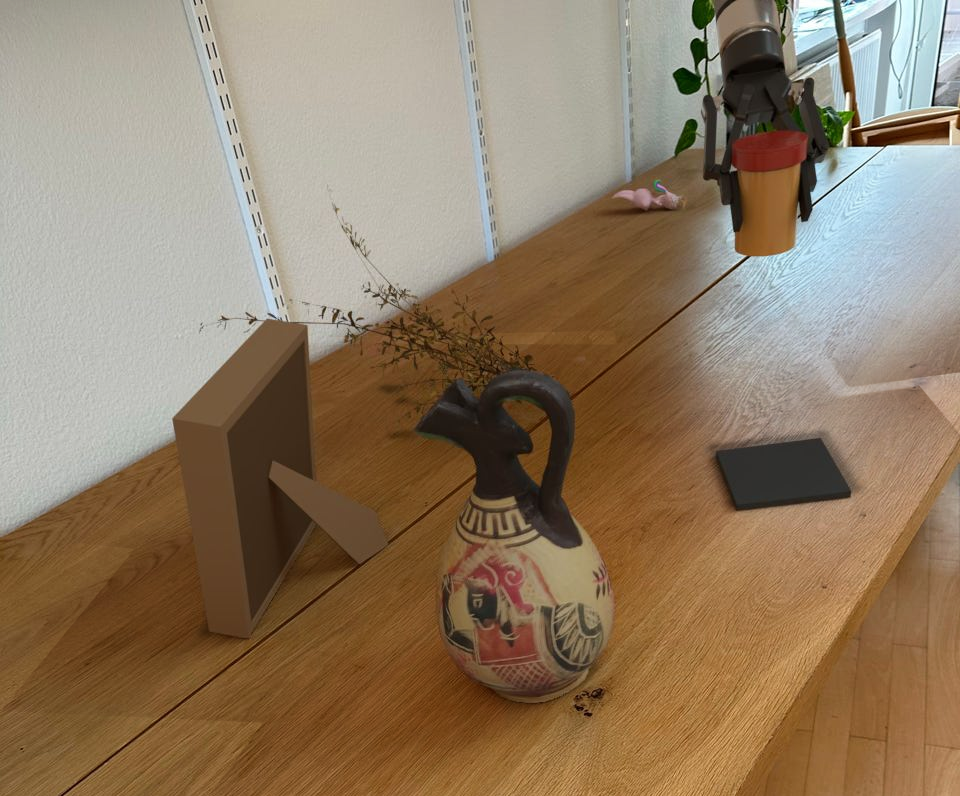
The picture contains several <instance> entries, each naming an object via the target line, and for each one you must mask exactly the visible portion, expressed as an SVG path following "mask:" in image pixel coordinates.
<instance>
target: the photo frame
mask: <svg viewBox="0 0 960 796" xmlns="http://www.w3.org/2000/svg"><path fill="white" fill-rule="evenodd" d="M292 322H293V321H285V320H281V319H280V320H277V319H276V320H275V319H274V318H266V319H265V321H262V323H261V324H260V325H259V326H258V327H257V328H256V329H255V330H254V331H253V332H252V334H250V336H248V338H247V339H246V340H245V341H244V342H243V343H242V344H240V346H239V347H238V348H237V350H235V351H234V352H233V354H232V355H231V356H230V357H229V358H228V359H227V360H226V361H225V362H224V363H223V364H222V365H221V366H220V368H218V369H217V370H216V372H215V373H213V375H212V376H211V377H210V378H209V379H208V380H207V381H206V382H205V383H204V384H203V385H202V386H201V387H200V389H198V391H197V392H196V393H194V394H193V395H192V396H191V398H190V399H189V400H188V401H187V402H186V403H185V404H184V405H183V406H182V407H181V408H180V409H179V411H177V413H176V414H174V415H173V417H172V419H171V420H172V425H173V432H174V438H175V443H176V449H177V455H178V460H179V467H180V471H181V472H180V473H181V477H182V483H183V488H184V495H185V500H186V506H187V512H188V518H189V523H190V529H191V534H192V541H193V547H194V552H195V558H196V563H197V569H198V574H199V581H200V587H201V591H202V597H203V603H204V609H205V615H206V620H207V627H208V632H211V633H215V634H216V633H217V634H220V635H225V636H230V637H235V638H241V639H245V638H249V637H250V635H251V633H252V632H253V630H254V628H255V627H256V625H257V623H258V622H259V620H260V618H261V617H262V615H263V613H264V612H265V610H266V608H267V607H268V608H269V606H270V605H269V603H270V602H271V603H272V601H273V600H272V598H273V597H274V598H275V596H276V595H275V593H276V592H277V593H278V591H279V590H278V588H279V587H280V588H281V586H282V585H281V584H283V583H284V581H285V579H286V578H287V576H288V574H289V573H290V571H291V569H292V568H293V566H294V564H295V563H296V561H297V559H298V558H297V557H299V556H300V555H301V553H302V551H303V549H304V547H305V546H306V544H307V542H308V541H309V539H310V537H311V536H310V535H312V534H313V532H314V531H313V529H314V528H315V529H316V527H317V526H318V527H319V529H321V530H322V531H323V532H324V533H325V534H326V535H327V536H328V537H329V538H330V540H332V541H333V542H334V543H335V544H336V545H337V546H339V548H341V550H343V551H344V552H345V554H347V555H348V556H349V557H350V559H352V560H353V561H354V562H355V563H356V564H357V563H358V564H357V565H361V564H362V563H364V562H365V561H367V560H369V559H370V558H371V557H373V556H374V555H376V554H377V553H379V552H380V551H382V550H383V549H384V548H386V547H387V546H388V545H389V542H388V540H387V537H386V534H385V531H384V530H383V526H382V524H381V522H380V519H379V516H378V513H377V511H376V510H374V509H372V508H370V507H368V506H366V505H364V504H362V503H360V502H359V501H356V500H354V499H351V498H350V497H347V496H345V495H343V494H341V493H340V492H339V491H335V490H333V489H332V488H329V487H327V486H326V485H323V484H321V483H320V482H318V481H317V472H316V470H317V469H316V454H315V435H314V417H313V401H312V400H313V399H312V384H311V383H312V382H311V365H310V347H309V346H310V345H309V331H308V330H309V328H308V324H305V323H292ZM316 525H317V526H316ZM315 526H316V527H315ZM315 529H314V530H315ZM312 531H313V532H312ZM311 533H312V534H311ZM308 538H309V539H308ZM307 540H308V541H307ZM304 545H305V546H304ZM302 548H303V549H302ZM301 550H302V551H301ZM300 552H301V553H300ZM298 555H299V556H298ZM295 560H296V561H295ZM294 562H295V563H294ZM293 563H294V564H293ZM291 567H292V568H291ZM290 568H291V569H290ZM288 572H289V573H288ZM287 573H288V574H287ZM286 575H287V576H286ZM285 577H286V578H285ZM283 580H284V581H283ZM282 582H283V583H282ZM280 585H281V586H280ZM280 588H279V589H280ZM277 590H278V591H277ZM277 593H276V594H277ZM274 595H275V596H274ZM274 598H273V599H274ZM271 600H272V601H271ZM271 603H270V604H271ZM268 605H269V606H268ZM268 608H267V609H268ZM266 611H267V610H266ZM265 613H266V612H265ZM265 613H264V614H265ZM263 616H264V615H263ZM262 618H263V617H262ZM262 618H261V619H262ZM260 621H261V620H260ZM259 623H260V622H259ZM259 623H258V624H259ZM257 626H258V625H257ZM256 628H257V627H256ZM256 628H255V629H256ZM254 631H255V630H254ZM253 633H254V632H253ZM253 633H252V634H253ZM251 636H252V635H251ZM250 638H251V637H250Z"/></svg>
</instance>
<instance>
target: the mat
mask: <svg viewBox="0 0 960 796" xmlns="http://www.w3.org/2000/svg"><path fill="white" fill-rule="evenodd" d="M715 457H716V461H717V463H718V465H719V468H720V471H721V473H722V476H723V478H724V481H725V484H726V487H727V489H728V492H729V495H730V497H731V501H732V503H733V505H734V508H735V510H736V511H737V512H738V511H746V510H753V509H762V508H770V507H780V506H787V505H797V504H804V503H814V502H823V501H830V500H839V499H847V498H851V497H852V489H851V488H850V486H849V484H848V483H847V481H846V479H845V477H844V476H843V474H842V472H841V470H840V469H839V467H838V464H837V463H836V461H835V460H834V458H833V456H832V455H831V453H830V451H829V450H828V448H827V446H826V445H825V443H824V441H823V439H822V437H815V438H807V439H801V440H799V439H798V440H792V441H791V440H790V441H784V442H775V443H768V444H759V445H751V446H744V447H736V448H727V449H719V450H715Z"/></svg>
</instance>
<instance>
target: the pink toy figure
mask: <svg viewBox="0 0 960 796" xmlns="http://www.w3.org/2000/svg"><path fill="white" fill-rule="evenodd" d="M661 182H662V180H661V179H655V180H654V181H653V183H652V187H653V189H654V190H655V192H659V193H664V194H663V195H659V196H657V197H653V193H652V192H651V191H650V190H649V189H648V188H637V189H636V190H635V191H634V190H631V189H624V190H620V191H618V192H617V193H615V194H614V195H613V196H612V197H611V200H615V199H624V200H626V201H629V202H631V203H632V204H633V206H634V207H635V208H640V209H642V211H646V212H647V211H648V210H649V209H651V208H652V205H655V206H656V207H658V208H662V207H664V208H665V209H668V210H670V211H673V210H674V211H675V210H676V209H677V208H678V207H679V205H680V203H682V209H683V210H685V207H686V205H687V202H688V195H686V196H684V195H683V194H681V195H679V196H678V195H676V194H675V193H674V192H669V191H668V190H667V189H666V187H664V186H663V185H661V184H660V183H661ZM682 199H683V200H682Z"/></svg>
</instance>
